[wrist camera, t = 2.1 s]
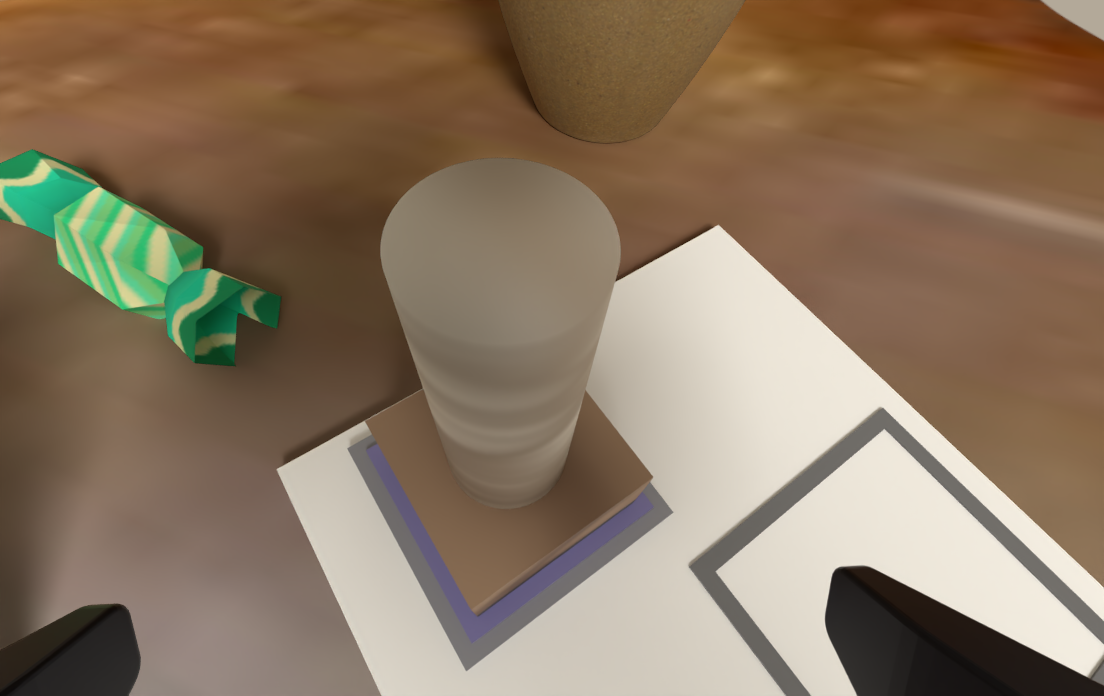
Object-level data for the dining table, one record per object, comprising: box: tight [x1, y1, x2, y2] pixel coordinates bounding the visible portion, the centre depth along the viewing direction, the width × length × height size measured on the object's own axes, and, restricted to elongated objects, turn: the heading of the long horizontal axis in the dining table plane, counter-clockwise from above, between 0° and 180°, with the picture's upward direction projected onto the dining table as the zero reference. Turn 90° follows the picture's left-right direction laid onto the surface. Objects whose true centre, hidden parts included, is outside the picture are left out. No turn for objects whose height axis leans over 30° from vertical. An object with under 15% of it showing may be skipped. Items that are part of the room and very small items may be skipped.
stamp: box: [365, 158, 653, 617], centre depth 13 cm, size 6×6×12 cm
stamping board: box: [277, 225, 1104, 696], centre depth 18 cm, size 21×21×1 cm
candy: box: [0, 149, 281, 366], centre depth 21 cm, size 12×3×4 cm
